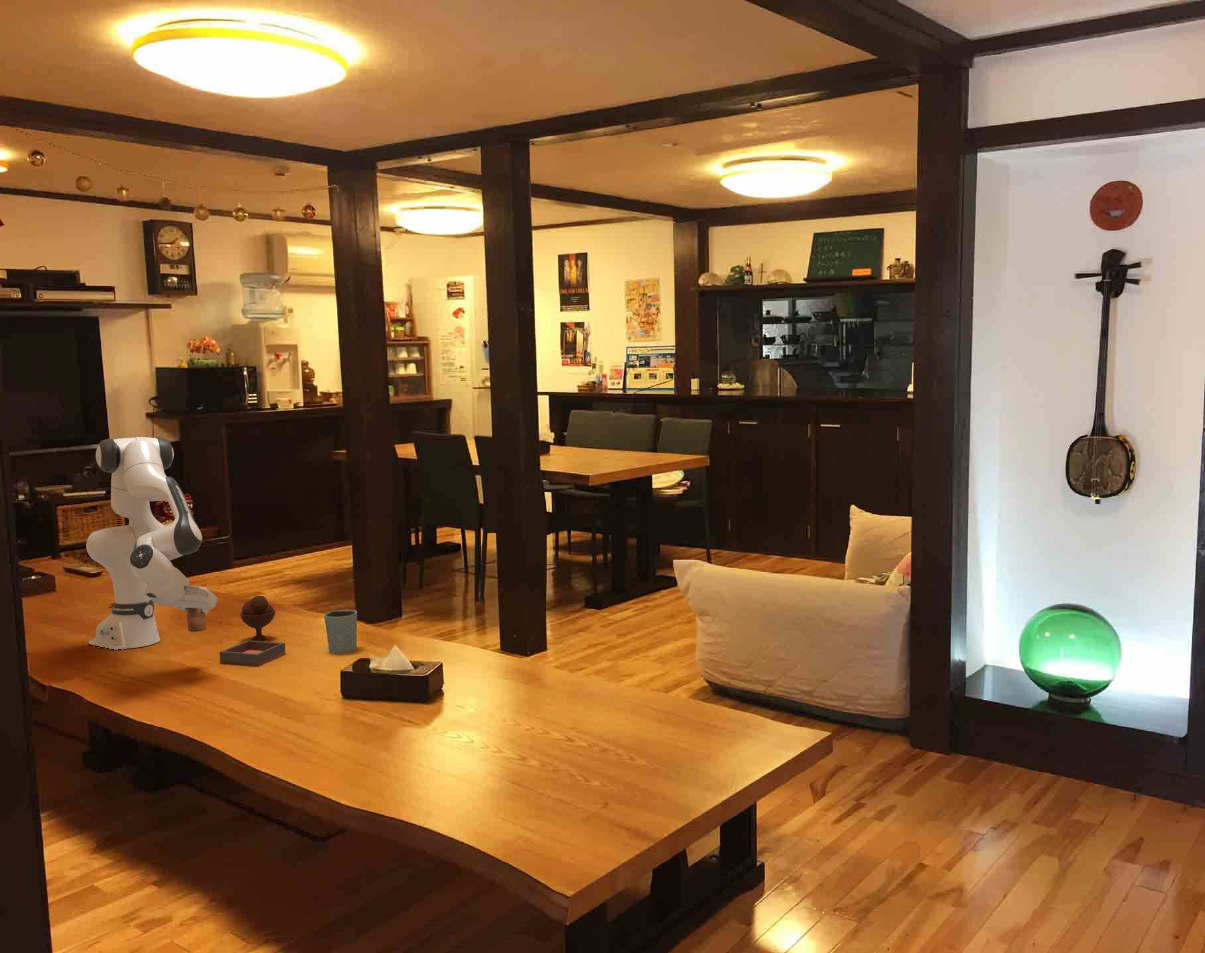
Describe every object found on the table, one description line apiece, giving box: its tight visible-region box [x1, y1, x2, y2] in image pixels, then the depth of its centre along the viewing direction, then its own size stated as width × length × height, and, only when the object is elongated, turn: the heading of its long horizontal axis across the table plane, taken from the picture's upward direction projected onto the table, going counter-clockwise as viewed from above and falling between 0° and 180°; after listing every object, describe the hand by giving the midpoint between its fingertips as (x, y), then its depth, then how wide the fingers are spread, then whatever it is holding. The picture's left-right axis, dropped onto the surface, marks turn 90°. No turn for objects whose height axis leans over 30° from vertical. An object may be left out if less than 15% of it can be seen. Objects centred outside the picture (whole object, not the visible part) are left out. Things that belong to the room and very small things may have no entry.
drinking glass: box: [323, 609, 358, 655], centre depth 324 cm, size 10×10×12 cm
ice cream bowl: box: [239, 595, 276, 642], centre depth 338 cm, size 11×11×15 cm
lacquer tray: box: [219, 639, 286, 667], centre depth 317 cm, size 14×14×4 cm
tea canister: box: [186, 608, 207, 633], centre depth 307 cm, size 5×5×10 cm
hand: (197, 611), depth 308 cm, fingers closed on tea canister, 5 cm apart
